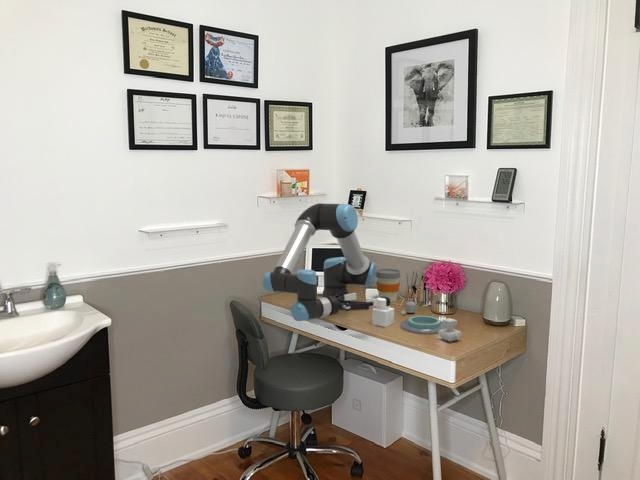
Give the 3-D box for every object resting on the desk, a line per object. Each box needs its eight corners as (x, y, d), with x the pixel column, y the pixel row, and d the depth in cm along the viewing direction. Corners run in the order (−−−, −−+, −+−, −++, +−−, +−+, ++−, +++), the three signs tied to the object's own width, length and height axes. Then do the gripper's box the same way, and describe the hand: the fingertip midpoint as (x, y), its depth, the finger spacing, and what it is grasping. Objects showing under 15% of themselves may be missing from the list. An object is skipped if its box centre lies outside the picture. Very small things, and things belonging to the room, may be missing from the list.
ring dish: (391, 325, 234) (391, 319, 234) (422, 317, 246) (422, 311, 246) (425, 337, 219) (426, 330, 218) (457, 328, 230) (458, 321, 230)
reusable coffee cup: (380, 295, 288) (380, 268, 286) (403, 298, 283) (403, 270, 281) (372, 301, 277) (372, 272, 275) (395, 303, 271) (396, 274, 269)
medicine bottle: (380, 320, 242) (380, 294, 240) (394, 323, 237) (394, 297, 236) (371, 324, 236) (371, 297, 235) (385, 327, 232) (385, 300, 230)
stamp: (464, 341, 213) (464, 320, 212) (452, 344, 210) (452, 323, 208) (447, 335, 221) (447, 315, 220) (435, 338, 217) (435, 318, 216)
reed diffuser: (411, 310, 259) (412, 269, 256) (423, 312, 254) (424, 271, 251) (398, 314, 252) (399, 272, 249) (410, 317, 247) (411, 274, 244)
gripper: (308, 309, 227) (347, 302, 239) (346, 322, 207) (386, 313, 220) (308, 291, 226) (347, 285, 238) (346, 303, 206) (386, 295, 219)
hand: (366, 298), depth 229 cm, fingers open, 13 cm apart
